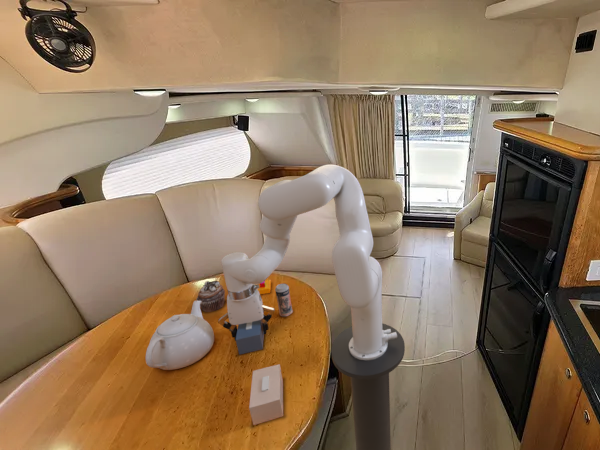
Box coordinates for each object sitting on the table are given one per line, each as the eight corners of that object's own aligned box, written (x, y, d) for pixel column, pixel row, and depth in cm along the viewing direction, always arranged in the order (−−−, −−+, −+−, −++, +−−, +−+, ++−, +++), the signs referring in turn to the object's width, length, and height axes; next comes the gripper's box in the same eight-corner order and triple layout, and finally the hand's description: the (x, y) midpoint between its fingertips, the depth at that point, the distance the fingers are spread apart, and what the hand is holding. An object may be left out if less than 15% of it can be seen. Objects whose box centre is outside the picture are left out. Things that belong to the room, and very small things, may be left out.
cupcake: (203, 300, 126) (197, 279, 123) (229, 297, 129) (224, 276, 125) (195, 315, 118) (189, 292, 114) (224, 310, 120) (218, 288, 116)
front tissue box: (256, 386, 88) (252, 369, 85) (282, 379, 90) (279, 362, 88) (253, 425, 77) (248, 406, 75) (283, 416, 79) (279, 397, 77)
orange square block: (249, 296, 129) (247, 287, 127) (251, 286, 136) (249, 278, 134) (270, 292, 131) (268, 284, 130) (271, 283, 138) (269, 274, 137)
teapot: (144, 352, 100) (130, 317, 95) (208, 325, 112) (198, 293, 107) (155, 387, 88) (140, 349, 83) (225, 352, 100) (216, 317, 95)
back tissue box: (243, 330, 110) (239, 315, 107) (264, 326, 112) (261, 311, 109) (239, 354, 99) (235, 338, 97) (262, 349, 101) (259, 333, 99)
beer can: (282, 319, 115) (277, 291, 111) (277, 312, 119) (272, 285, 114) (294, 313, 118) (290, 286, 114) (290, 307, 122) (285, 281, 117)
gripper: (271, 279, 104) (278, 322, 111) (212, 289, 99) (224, 333, 105) (270, 291, 98) (278, 336, 104) (208, 302, 92) (220, 349, 99)
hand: (251, 334), depth 105 cm, fingers open, 8 cm apart
